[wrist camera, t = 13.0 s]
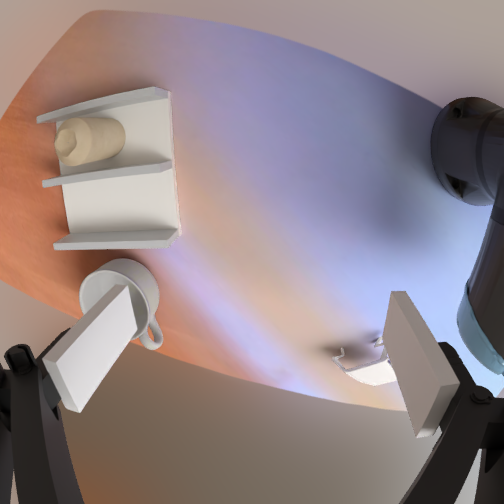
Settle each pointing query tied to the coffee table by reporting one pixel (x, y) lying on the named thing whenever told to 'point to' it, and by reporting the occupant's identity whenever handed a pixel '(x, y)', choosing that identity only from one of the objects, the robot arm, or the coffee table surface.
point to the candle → (88, 140)
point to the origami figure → (371, 369)
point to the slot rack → (122, 177)
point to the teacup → (140, 291)
